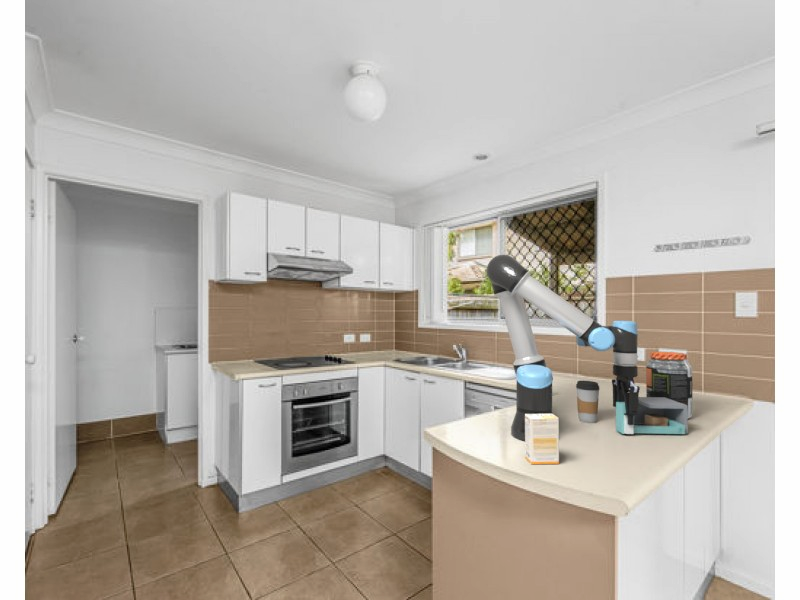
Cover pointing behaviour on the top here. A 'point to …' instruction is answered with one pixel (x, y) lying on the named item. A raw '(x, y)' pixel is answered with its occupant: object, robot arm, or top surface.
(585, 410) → the coffee cup
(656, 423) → the block
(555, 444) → the supplement box
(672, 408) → the block
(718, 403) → the top surface
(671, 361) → the supplement tub
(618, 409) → the teal cube-topped l-bracket
